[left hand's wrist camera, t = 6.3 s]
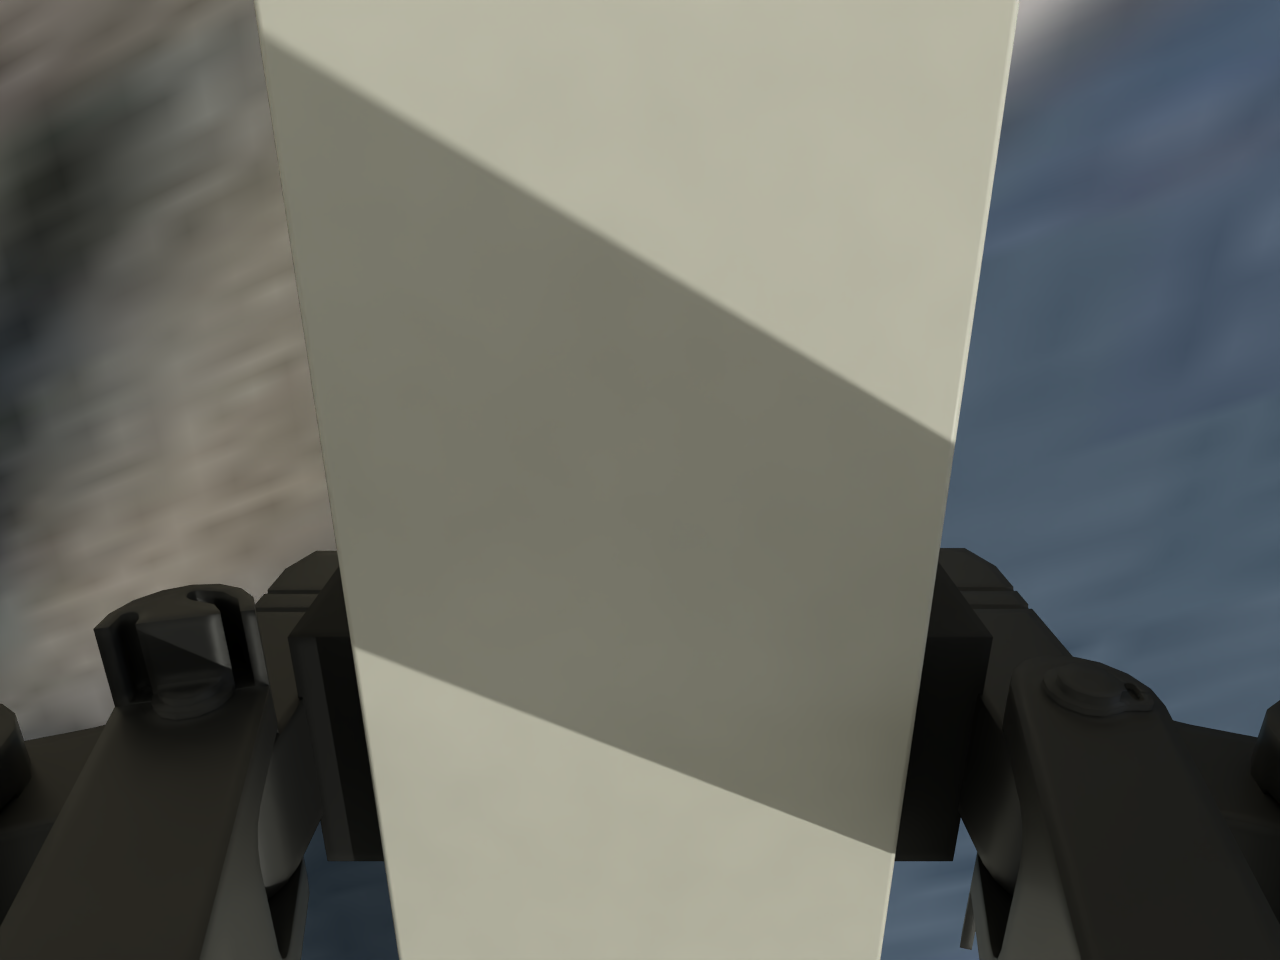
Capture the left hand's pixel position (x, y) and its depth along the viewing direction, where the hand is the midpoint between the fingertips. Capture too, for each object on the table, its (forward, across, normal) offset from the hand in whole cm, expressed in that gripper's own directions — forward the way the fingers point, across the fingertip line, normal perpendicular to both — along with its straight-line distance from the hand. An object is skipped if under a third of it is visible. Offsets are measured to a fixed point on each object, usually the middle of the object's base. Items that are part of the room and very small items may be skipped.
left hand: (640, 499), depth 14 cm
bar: (+1, 0, -24) cm, 24 cm away
